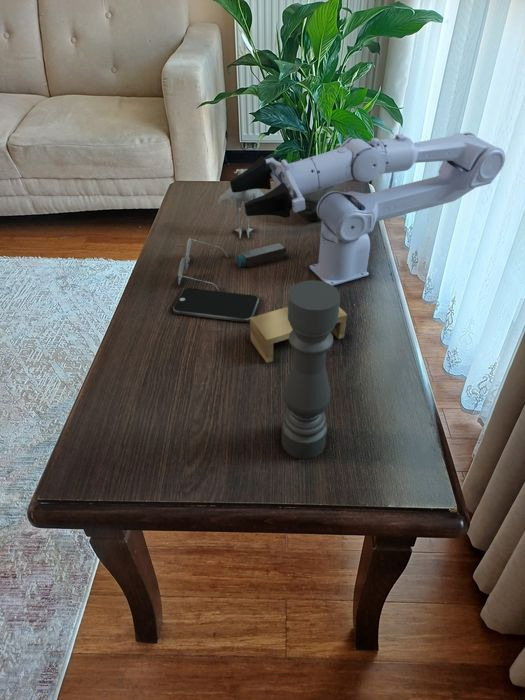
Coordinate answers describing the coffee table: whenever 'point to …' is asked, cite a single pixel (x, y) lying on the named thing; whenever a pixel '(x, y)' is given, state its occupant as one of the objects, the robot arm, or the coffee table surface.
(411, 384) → the coffee table surface
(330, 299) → the candle holder
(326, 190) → the decorative stone
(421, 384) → the coffee table surface
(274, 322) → the shelf
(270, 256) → the grey and teal bar
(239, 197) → the figurine
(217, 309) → the smartphone
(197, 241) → the sunglasses
